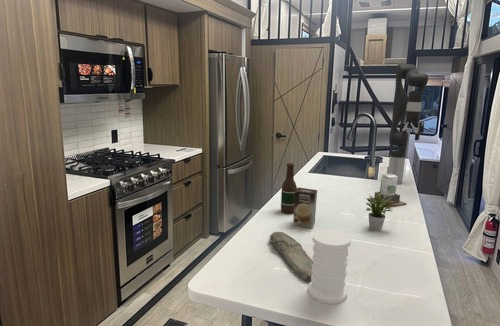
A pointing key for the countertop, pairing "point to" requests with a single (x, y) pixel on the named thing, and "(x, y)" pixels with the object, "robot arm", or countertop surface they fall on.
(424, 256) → the countertop surface
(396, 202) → the collar block
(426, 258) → the countertop surface
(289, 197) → the beer bottle
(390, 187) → the syrup box
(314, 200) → the coffee box
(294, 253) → the elongated rock
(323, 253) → the decorative container
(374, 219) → the house plant
